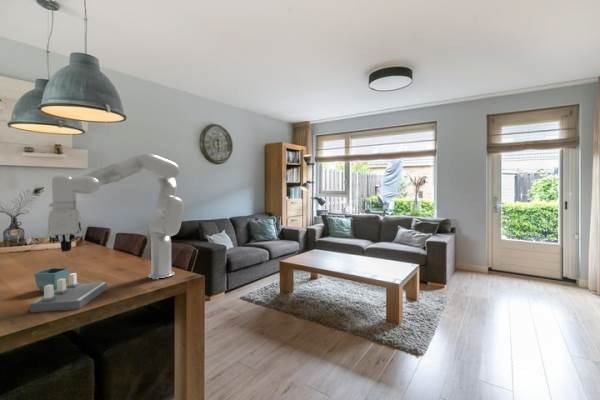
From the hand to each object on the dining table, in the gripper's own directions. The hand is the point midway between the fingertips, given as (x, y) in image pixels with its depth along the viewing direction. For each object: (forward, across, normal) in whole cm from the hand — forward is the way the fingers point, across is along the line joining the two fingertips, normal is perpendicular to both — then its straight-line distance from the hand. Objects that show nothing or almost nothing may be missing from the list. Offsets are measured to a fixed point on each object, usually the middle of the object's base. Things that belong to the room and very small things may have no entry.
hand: (66, 250), depth 117 cm
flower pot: (+20, -13, +14) cm, 28 cm away
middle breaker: (+17, -2, 0) cm, 17 cm away
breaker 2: (+17, -2, +8) cm, 19 cm away
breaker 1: (+17, -2, -8) cm, 19 cm away
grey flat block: (+20, +2, 0) cm, 20 cm away
